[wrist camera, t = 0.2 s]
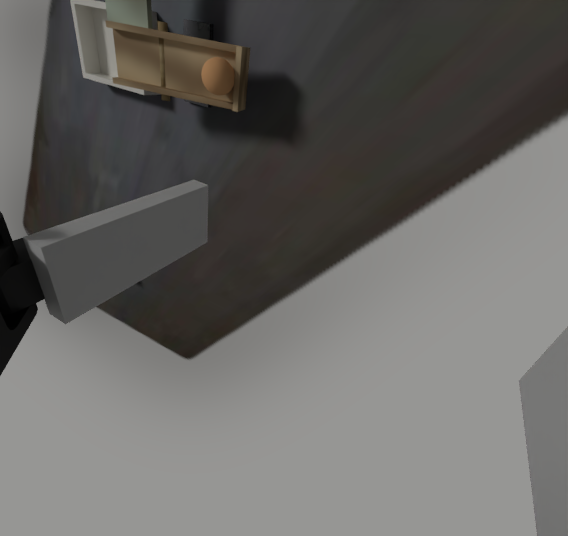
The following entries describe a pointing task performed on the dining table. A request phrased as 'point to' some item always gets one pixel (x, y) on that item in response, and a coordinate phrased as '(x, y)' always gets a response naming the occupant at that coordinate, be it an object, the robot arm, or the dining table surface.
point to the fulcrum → (201, 32)
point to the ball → (218, 76)
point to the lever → (170, 57)
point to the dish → (98, 43)
